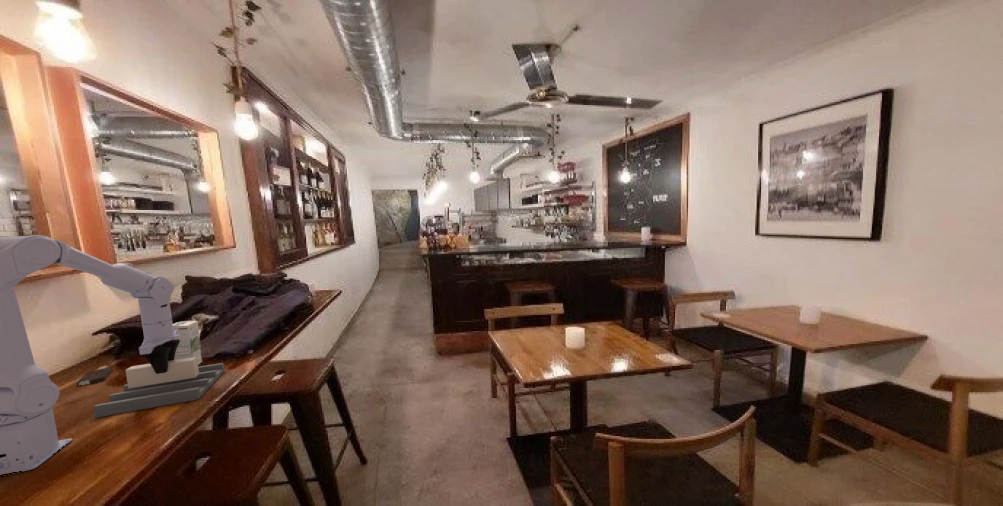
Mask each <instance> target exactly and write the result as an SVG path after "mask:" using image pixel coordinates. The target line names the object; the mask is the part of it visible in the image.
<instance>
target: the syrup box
mask: <svg viewBox="0 0 1003 506" xmlns="http://www.w3.org/2000/svg"><path fill="white" fill-rule="evenodd" d="M174 329H178V334H180V337H179V338H177V339H179V340H180V343H179V345H178V347H177V349H176V353H175V358H174V360H178V359H185V358H192V357H197V361H198V365H199V364H200V363H201V362H202V363H203V356H202V347H201V336H200V329H199V321H198V320H184V321H183V320H182V321H178V322H175V324H174V323H173V330H174ZM172 340H176V339H172ZM200 365H201V364H200ZM200 365H199V366H200Z"/></svg>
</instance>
